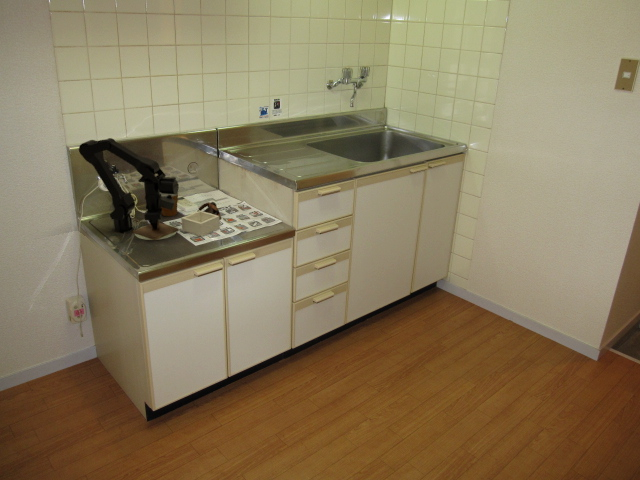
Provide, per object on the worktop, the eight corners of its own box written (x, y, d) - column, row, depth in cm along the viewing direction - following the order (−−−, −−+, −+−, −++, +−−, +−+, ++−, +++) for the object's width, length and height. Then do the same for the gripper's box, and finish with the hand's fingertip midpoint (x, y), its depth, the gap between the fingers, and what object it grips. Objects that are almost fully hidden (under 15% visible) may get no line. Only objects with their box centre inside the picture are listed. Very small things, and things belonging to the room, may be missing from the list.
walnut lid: (154, 240, 218) (153, 228, 216) (132, 232, 224) (131, 220, 222) (178, 230, 228) (177, 218, 226) (157, 223, 234) (156, 211, 232)
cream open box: (201, 237, 223) (200, 223, 221) (182, 231, 229) (181, 217, 226) (219, 229, 232) (219, 216, 230) (200, 223, 237) (200, 210, 235)
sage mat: (154, 244, 216) (154, 243, 216) (125, 234, 224) (125, 233, 224) (185, 231, 229) (185, 229, 229) (157, 222, 237) (157, 221, 237)
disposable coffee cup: (161, 219, 240) (159, 193, 235) (156, 212, 248) (154, 187, 243) (182, 216, 244) (181, 191, 239) (177, 209, 252) (175, 185, 247)
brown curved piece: (220, 223, 239) (210, 209, 235) (202, 230, 242) (192, 216, 238) (225, 208, 249) (216, 194, 244) (208, 214, 252) (198, 201, 247)
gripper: (172, 199, 213) (175, 235, 219) (173, 184, 230) (176, 219, 236) (142, 200, 210) (146, 237, 217) (145, 185, 227) (149, 220, 233)
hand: (155, 228), depth 226 cm, fingers closed on walnut lid, 3 cm apart
